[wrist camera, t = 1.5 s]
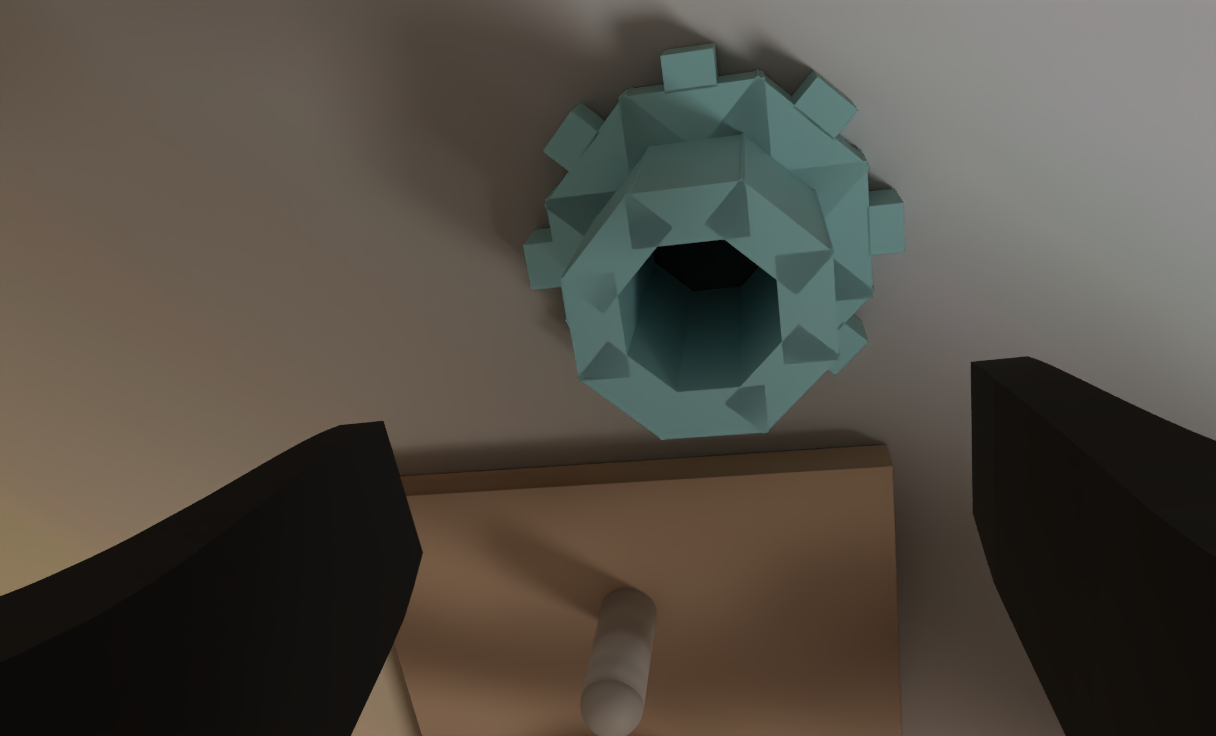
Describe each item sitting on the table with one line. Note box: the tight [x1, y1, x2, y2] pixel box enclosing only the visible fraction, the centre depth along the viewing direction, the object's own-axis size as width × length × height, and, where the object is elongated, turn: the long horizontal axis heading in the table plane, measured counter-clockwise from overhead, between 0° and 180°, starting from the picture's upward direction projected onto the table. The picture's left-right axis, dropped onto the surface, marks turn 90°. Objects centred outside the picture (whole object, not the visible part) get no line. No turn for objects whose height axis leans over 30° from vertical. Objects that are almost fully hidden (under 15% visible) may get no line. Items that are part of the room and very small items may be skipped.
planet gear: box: [523, 43, 905, 441], centre depth 18 cm, size 8×8×5 cm
